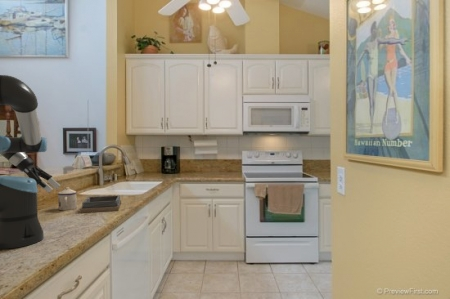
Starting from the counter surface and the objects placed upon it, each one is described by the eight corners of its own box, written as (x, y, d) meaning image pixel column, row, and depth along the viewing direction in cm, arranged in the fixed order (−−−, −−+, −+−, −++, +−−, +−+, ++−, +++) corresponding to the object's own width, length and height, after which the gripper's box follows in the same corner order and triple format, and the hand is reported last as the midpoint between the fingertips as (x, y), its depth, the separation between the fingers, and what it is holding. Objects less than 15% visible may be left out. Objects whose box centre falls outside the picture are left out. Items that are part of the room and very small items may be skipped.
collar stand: (118, 210, 149) (118, 201, 149) (80, 213, 144) (80, 203, 144) (121, 203, 168) (121, 194, 168) (88, 205, 163) (88, 196, 163)
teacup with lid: (59, 207, 157) (59, 186, 157) (78, 206, 160) (77, 185, 160) (55, 212, 146) (55, 189, 145) (75, 210, 149) (74, 188, 149)
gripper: (26, 165, 159) (56, 190, 163) (5, 168, 135) (41, 198, 139) (36, 155, 160) (66, 181, 165) (18, 157, 136) (53, 187, 141)
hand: (54, 189), depth 152 cm, fingers open, 13 cm apart
